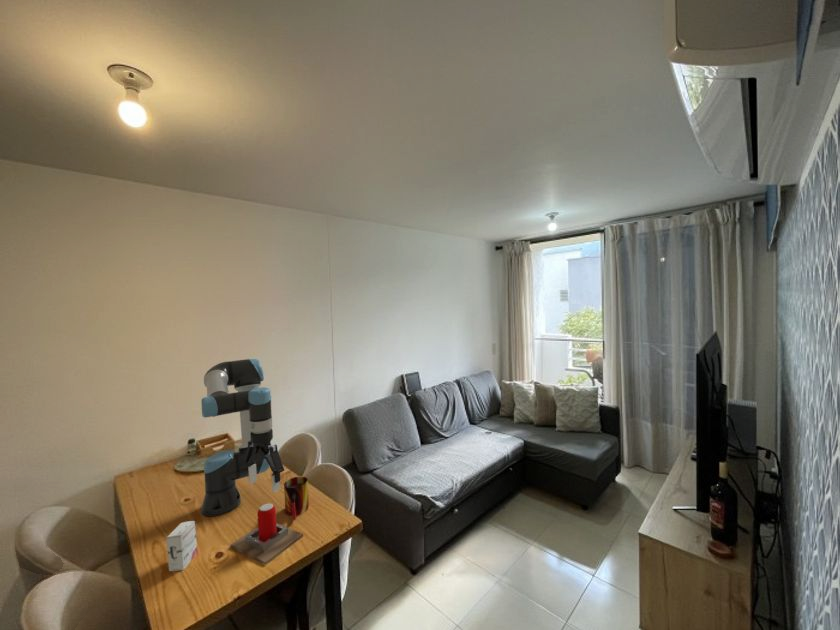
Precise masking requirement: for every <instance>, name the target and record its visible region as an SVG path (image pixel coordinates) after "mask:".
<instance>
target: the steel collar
mask: <svg viewBox="0 0 840 630" xmlns="http://www.w3.org/2000/svg"><path fill="white" fill-rule="evenodd" d="M277 523H278V522H276V528H277V533H276V534H274V535H273V536H271V537H270V539H268V540H267V541H265V542H262V541H260V540H258V539H257V538H258V537H259V533H258V529H257V530H255V531H253V532H252V533H250V534H249V535H247V536H246V537H245V540H246V544H248V545H250V546H252V547H254V548H256V549H258V550H260V551H262V552H265V551H266V550H268V549H269V548H271V547H272V546H273V545H275V544H276V543H277V542H279V541H280V540H282V539H283V538H284V537H286V536H287V535H288V528H289V527H288V526H285V525H283V524H281V525H279V524H280V523H278V524H277ZM282 525H283V526H282ZM284 526H285V527H284ZM287 527H288V528H287Z"/></svg>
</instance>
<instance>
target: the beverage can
mask: <svg viewBox="0 0 840 630" xmlns="http://www.w3.org/2000/svg"><path fill="white" fill-rule="evenodd" d="M276 513H277V511H276V506H275V505H274V504H273V503H265V504H262V505H261V506H260V507H259V508H258V511H257V527H258V533H259V540H260V541H262V542H265V541H267V540H268V539H270V537H271V536H273V535H274V534H276V533H277V528H276V523H277V514H276Z"/></svg>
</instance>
